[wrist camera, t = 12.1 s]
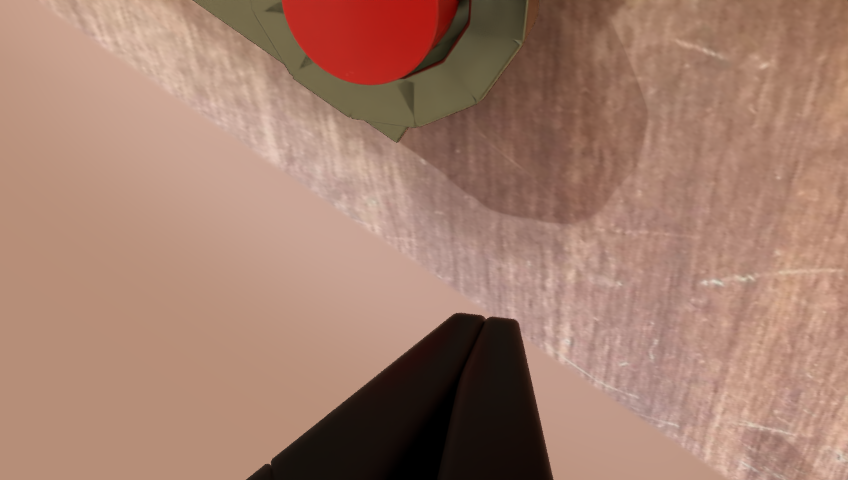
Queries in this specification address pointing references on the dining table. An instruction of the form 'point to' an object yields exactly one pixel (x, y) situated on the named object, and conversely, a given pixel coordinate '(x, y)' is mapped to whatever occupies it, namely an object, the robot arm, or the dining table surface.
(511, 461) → the robot arm
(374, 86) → the button block
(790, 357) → the dining table surface
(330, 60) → the button
